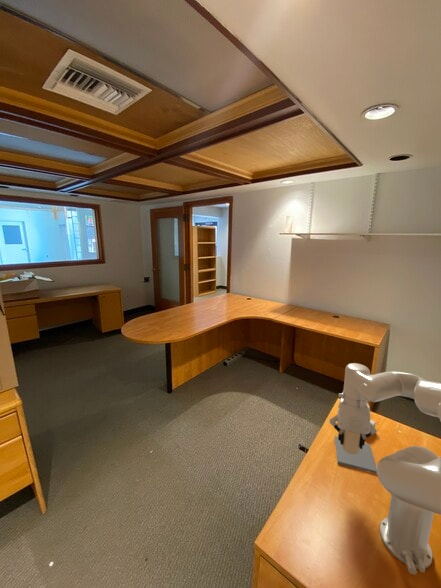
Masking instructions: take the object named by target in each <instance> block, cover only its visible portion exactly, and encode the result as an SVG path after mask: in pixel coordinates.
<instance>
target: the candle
mask: <svg viewBox="0 0 441 588" xmlns="http://www.w3.org/2000/svg"><path fill="white" fill-rule="evenodd" d="M343 435H344V438H343V444H342V448H343V449H344V450H345V451H346V452H348V453H350V454H357V453H358V452H359V444H360V435H361V433H356V432H351V431H346V430H344V432H343Z"/></svg>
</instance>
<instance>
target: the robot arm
mask: <svg viewBox="0 0 441 588" xmlns="http://www.w3.org/2000/svg"><path fill="white" fill-rule="evenodd" d="M343 382H344V384H343V390H342V392H341V393H338V398H340V401H339V403H338V408H337V413H336V415H335V416H333V417H331V418H330V419H329V420H328V421H329V424H330V425H331V426H332V427H333V428H334V429H335V430H336V431H337V432H338V433H337V434H338V436H337V437H338V440H340V443H341V445H342V444H343V438H344V435H343V432H344V430H346V431H351V432H356V433H361V435H360V444H359V447H360V449H362V446H364V443H366V440H367V438H369V437H370V436H372V435H374V434H376V433H378V430H377V428H376V426H375V427H374V426H373V425H372V424H371V422H370V419H371V409H370V407H371V406H370V405H369V403H368V402H372V403H377V402H381V401H384V400H387V399H391V398H394V397H397V396H398V397H406V398H409V399H413V400H414V402H415V405H416V407H417V408H418V410H419V411H420V412H421V413H423V414H426V415H428V416H431V417H436V418H438V419H439V420H440V422H441V382H438V381H433V380H428V379H427V380H426V379H425V378H423V377H421V376H419V375H417V374H413V373H408V372H400V371H383V372H379V373H375V374H371V371H370V369H369V367H368V366H366V365H364V364H361V363H357V362H353V363H352V362H351V363H348V364H347V365H346V366H345V370H344V381H343ZM376 467H377V474H376V476H377V478H378V481H379V482H380V484H381V485H382V486H383V488H384V489H385V490H386V491H387V492H388V494H389V493H390V495H391V498H390V502H389V503H390V504H389V509H388V515H387V517H385V518H383V519H382V520H381V521H380V524H379V525H380V526H379V534H380V537H381V538H380V539H381V541H383V544H384V545H385V547H386V548H387V550H388V551H389V552H390V553H391V554H392V555H393V556H394V558H396V559H398V561H400V562H401V563H403V564H404V565H406V568H407V570H408V573H410V574H412V575H417V574H418V571H417V570H419V572H421V573H425V572H426V569H427V568H429V567H430V566H431V564H432V562H433V558H434V557H433V556H434V555H433V552H432V548H431V545H430V543H429V539H430V534H431V529H432V524H433V520H434V515H435V514H436V515H440V516H441V456H440V457H439V456H438V455H437V454H436V453H435V452H434V451H432V450H430V449H429V448H427V447H425V446H421V445H411V446H408V447H405V448H401V449H400V450H397V451H396V452H394V453H390V454H388V455H385V456H384V457H382V458H381V459H379V461H378V463H376Z"/></svg>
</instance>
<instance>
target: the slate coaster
mask: <svg viewBox="0 0 441 588" xmlns="http://www.w3.org/2000/svg"><path fill="white" fill-rule="evenodd" d="M334 444H335V445H334V446H335V452H336V453H335V454H336V463H337V464H338V465H341V466H345V467H349V468H353V469H357V470H361V471H364V472H368V473H372V474H376V475H377V463H376V461H375V456H374V454H373V451H372V447H371V444H370V443H367V442H365V443H364V446H362V449H360V447H359V452H358V453H357V454H350V453H348V452H346V451H345V450H344V449H343V448H342V445H341V443H340V440H338V436H335V435H334Z"/></svg>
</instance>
